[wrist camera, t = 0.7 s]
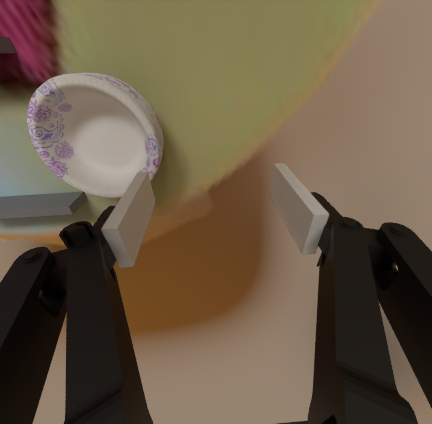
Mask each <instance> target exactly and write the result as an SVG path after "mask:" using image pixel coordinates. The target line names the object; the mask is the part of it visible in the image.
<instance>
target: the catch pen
mask: <svg viewBox="0 0 432 424" xmlns="http://www.w3.org/2000/svg"><path fill="white" fill-rule="evenodd" d="M11 53H16V51H15V49H14V47H13V45H12V43H11V41H10V39H9V38H8V37H3V36H0V54H11ZM86 199H87V198H86V196H85V194H84V192H72V193H57V194H41V195H25V196H10V197H0V219H9V218H24V217H39V216H54V215H69V214H74V212H75V211H76V210H77V209H78V208H79V207H80V206H81V205H82V204H83V202H84V201H85V200H86Z"/></svg>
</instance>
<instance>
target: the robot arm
mask: <svg viewBox="0 0 432 424" xmlns="http://www.w3.org/2000/svg"><path fill="white" fill-rule="evenodd" d="M270 197H271V198H272V200H273V202H274V204H275V206H276V208H277V209H278V211H279V213H280V215H281V217H282V218H283V220H284V222H285V224H286V226H287V227H288V229H289V231H290V233H291V235H292V237H293V238H294V240H295V242H296V244H297V246H298V248H299V250H300V251H301V253H302V254H315V253H316V250H317V248H318V246H319V247H320V249H321V250H322V253H321V256H320V258H319V261H318V264H317V266H318V267H319V265H320V268H319V270H320V271H319V287H318V304H317V305H318V306H317V323H316V342H315V361H314V378H313V379H314V380H313V394H312V399H311V403H310V407H309V413H308V421H301V422H290V423H279V424H418V422H417V419H416V416H415V413H414V411H413V410H412V408H411V406H410V404H409V402H407V401H406V400H405V399H404V398H402V397H401V396H400V395H399V393H398V391H397V388H396V385H395V380H394V375H393V370H392V365H391V361H390V355H389V350H388V345H387V341H386V336H385V331H384V326H383V321H382V316H381V311H380V306H379V303H380V304H381V307H382V309H383V311H384V313H385V315H386V317H387V319H388V320H389V323H390V324H391V327H392V329H393V331H394V333H395V335H396V337H397V339H398V341H399V343H400V345H401V347H402V349H403V351H404V353H405V355H406V357H407V359H408V361H409V363H410V365H411V367H412V369H413V371H414V373H415V375H416V377H417V379H418V382H419V384H420V386H421V388H422V390H423V392H424V394H425V395H426V398H427V400H428V402H429V404H430V406H431V408H432V252H431V250H430V249H429V248H428V247H427V246H426V245H425V244H424V243H423V242H422V240H421V239H419V237H418V236H417V235H416V234H415V233H414V232H413V231H412V230H411V229H409V228H407V227H405V226H404V225H400V224H397V223H391V222H390V223H384V224H382V226H381V227H380V229H379V230H375V229H369V228H363V226H362V224H360V223H359V222H358V221H356V220H354V219H351V218H348V217H342V216H341V215H340V214H339V213H338V211H336V210H335V208H334V207H333V206H331V204H330V203H329V202H327V200H326V199H325V198H324V197H323V196H321V195H320V194H318V193H316V192H312V193H310V192H309V191H308V190H307V189H306V188H305V186H304V185H303V184H302V183H301V182H300V181H299V180H298V178H296V176H295V175H294V174H293V173H292V172H291V171H290V170H289V168H288V167H287V166H286V165H285V164H284V163H281V164H274V168H273V175H272V183H271V190H270ZM155 203H156V202H155V198H154V194H153V190H152V186H151V182H150V178H149V174H148V172H137V174H136V175H135V177H134V179H133V180H132V182H131V183H130V185H129V186H128V188H127V190H126V191H125V193H124V194H123V196H122V197H121V199H120V200H119V202H118V204H117V205H116V206H110V207H108V208H107V209H106V210H104V211H103V213H102V214H101V215H100V217H99V218H98V220H97V222H95V224H94V225H93V227H92V225H91V224H90V222H87V221H80V222H76V223H73V224H71V225H69V226H67V227H65V228H64V229H63V230H62V231H61V232H60V234H59V236H60V238H61V239H62V241H63V242H64V244H65V245H66V247H67V248H68V249H65V250H61V251H58V252H54V253H51V252H50V251H49V250H48V248H46V247H37V248H34V249H31V250H29V251H26V252H25V253H23V254H22V255H21V256H19V257H18V258H17V259H16V260H15V262H14V263H13V264H12V266H11V268H10V269H9V270H8V272H7V274H6V275H5V276H4V278H3V280H2V281H1V282H0V424H32V423H33V420H34V417H35V413H36V410H37V407H38V404H39V400H40V397H41V393H42V391H43V387H44V384H45V381H46V377H47V374H48V371H49V367H50V364H51V361H52V358H53V355H54V351H55V348H56V345H57V342H58V338H59V335H60V332H61V328H62V325H63V322H64V319H65V315H66V312H67V329H66V332H67V333H66V334H67V335H66V336H67V337H66V408H65V410H66V412H65V421H64V424H153V421H152V419H151V416H150V414H149V411H148V408H147V404H146V400H145V396H144V391H143V387H142V383H141V378H140V374H139V370H138V366H137V361H136V357H135V353H134V349H133V344H132V340H131V336H130V332H129V327H128V323H127V319H126V315H125V310H124V306H123V302H122V298H121V294H120V289H119V285H118V281H117V276H116V272H115V270H114V268H113V266H114V264H115V261H116V262H117V264H118V266H119V267H132V266H134V263H135V260H136V257H137V254H138V252H139V249H140V246H141V243H142V240H143V237H144V235H145V232H146V229H147V226H148V223H149V220H150V218H151V215H152V212H153V209H154V206H155ZM396 265H397V267H398V270H397V269H396V267H395V266H396ZM378 300H379V301H378Z"/></svg>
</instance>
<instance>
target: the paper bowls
mask: <svg viewBox="0 0 432 424" xmlns="http://www.w3.org/2000/svg"><path fill="white" fill-rule="evenodd" d="M27 125H28V129H29V134H30V137H31V140H32V143H33V145H34V147H35V149H36V151H37V152H38V154H39V156H40V157H41V158H42V160H43V161H44V162H45V164H46V165H47V166H48V167H49V168H50V169H51V170H52V171H53V172H54V173H55V174H56V175H57V176H58V177H60V178H61V179H62V180H63V181H65V182H66V183H68V184H70V185H71V186H73V187H75V188H77V189H79V190H81V191H83V192H86V193H88V194H92V195H96V196H100V197H108V198H117V197H122V196H123V194H124V193H125V191H126V190H127V188H128V186H129V185H130V183H131V182H132V180H133V179H134V177H135V175H136V174H137V172H148V174H149V178H150V182H151V180H152V179H153V178H154V176H155V174H156V173H157V170H158V168H159V165H160V162H161V160H162V155H163V149H164V142H163V140H164V139H163V132H162V128H161V125H160V122H159V120H158V117H157V115H156V114H155V112H154V110H153V108H152V107H151V105H150V104H149V103H148V102H147V101H146V100H145V99H144V98H143V96H142V95H140V94H139V93H138V92H137V91H136V90H135V89H133V88H132V87H131V86H129V85H128V84H126V83H125V82H123V81H121V80H119V79H117V78H115V77H112V76H108V75H104V74H98V73H75V74H63V75H59V76H56V77H53V78H51V79H49V80H47V81H46V82H45V83H43V84H42V85H41V86H40V87H39V88H38V89H37V90H36V91H35V93H34V94H33V96H32V97H31V100H30V102H29V106H28V111H27Z"/></svg>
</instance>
